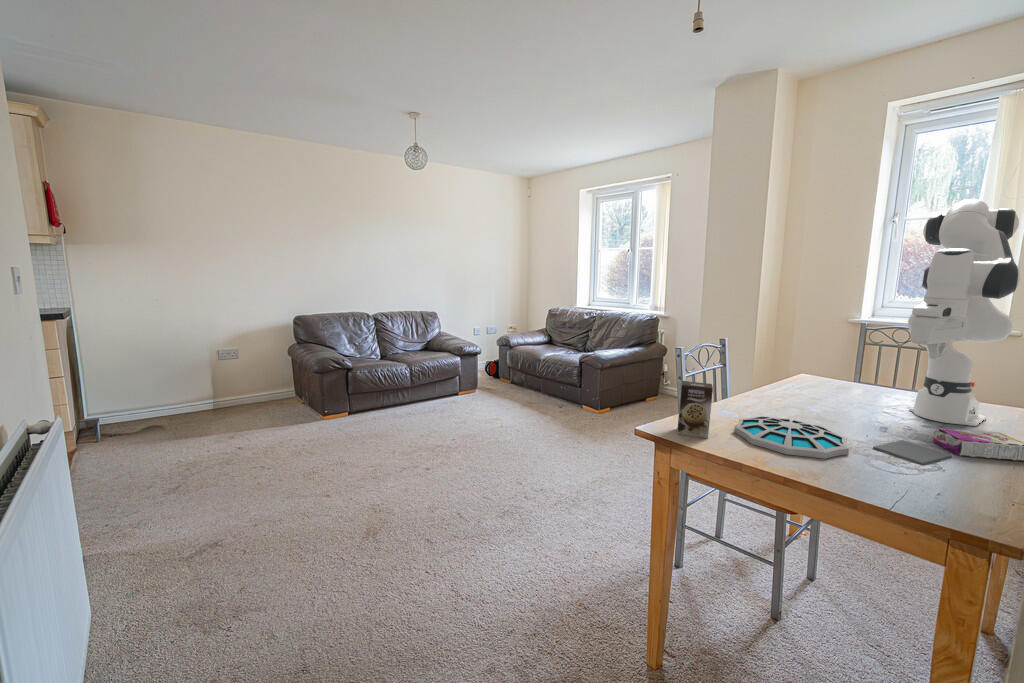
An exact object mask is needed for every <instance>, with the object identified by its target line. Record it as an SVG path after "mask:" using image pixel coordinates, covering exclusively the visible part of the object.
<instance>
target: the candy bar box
mask: <svg viewBox="0 0 1024 683" xmlns="http://www.w3.org/2000/svg"><path fill="white" fill-rule="evenodd" d="M934 429H935V430H934V434H933V440H932V442H933V443H934V444H936V445H938V446H940V447H941V448H944V449H945V450H948V451H950V452H951V453H953V454H955V455H957V456H958V457H959V456H960V457H970V458H979V459H980V458H982V459H983V458H984V459H994V460H995V459H996V460H1005V461H1019V462H1024V442H1023V441H1021V440H1019V439H1016V438H1013V437H1011V436H1008V435H1006V434H1004V433H1001V432H999V431H983V430H971V429H969V430H968V429H955V428H942V427H935V428H934Z"/></svg>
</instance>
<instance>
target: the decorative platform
mask: <svg viewBox="0 0 1024 683" xmlns="http://www.w3.org/2000/svg"><path fill="white" fill-rule="evenodd" d="M734 433H735V434H736V435H737V436H740V437H742V438H743V439H744V440H746V441H747V442H748V443H750V444H751V445H753V446H758V447H761V448H765V449H768V450H771V451H775V452H778V453H780V454H783V455H786V456H787V455H788V456H789V455H790V456H796V457H797V456H798V457H799V456H800V457H808V458H817V459H825V460H826V459H830V458H833V457H839V456H848V455H849V453H850V448H849V446H848V444H847V440H848V438H846V437H845V436H842V435H840V434H838V433H835V432H834V431H832V430H829V429H827V428H826V427H824V426H821V425H818V424H813V423H808V422H803V421H799V420H796V419H793V418H783V417H781V418H780V417H773V416H766V415H765V416H760V415H759V416H756V417H755V416H754V417H750V418H747V417H746V418H739V419H738V424H737V425H736V426H735V427H734Z"/></svg>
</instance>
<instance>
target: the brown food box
mask: <svg viewBox="0 0 1024 683" xmlns="http://www.w3.org/2000/svg"><path fill="white" fill-rule="evenodd" d="M713 392H714V387H713V384H712V383H707V382H699V381H698V382H697V381H688V380H687V381H686V380H681V386H680V396H679V397H680V398H679V407H678V408H679V409H678V418H677V430H676V433H677V435H680V436H681V435H682V436H688V437H695V438H700V439H701V438H702V439H709V432H710V431H709V430H710V422H711V411H712V400H713Z"/></svg>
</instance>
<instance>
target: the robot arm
mask: <svg viewBox="0 0 1024 683" xmlns="http://www.w3.org/2000/svg"><path fill="white" fill-rule="evenodd" d="M1019 225H1020V218H1019V217H1018V214H1017V213H1016V211H1015V210H1014V209H1012V208H1003V207H1001V208H1000V207H999V208H998V209H996V208H989V206H988V205H987V203H986V202H985V201H983V200H980V199H976V198H970V199H963V200H961V201H959V202H956V203H954V205H952V206H951V208H949V209H948V211H947V212H946V213H943V212H942V213H939V214H935V215H932V216H931V217H930V218H928V219H927V221H926V222H925V225H924V227H923V230H922V231H923V232H922V233H923V234H922V235H923V238H924V239H925V243H927V244H928V245H932V246H941V245H942V247H944V248H941V249H939V250H936V251H935V252H934V254H933V256H932V258H931V261H930V265H929V266H928V267H926V268H925V269H924V273H923V277H922V283H921V284H922V285H921V286H922V288H924V289H925V290H926V291H925V293H924V296H923V300H922V301H921V302H920V303H919V304H917V305H916V306H914V307H913V308H912V310H911V315H910V316H909V318H908V320H907V327H908V330H909V331H910V340H911V341H910V342H911V343H913V344H917V345H924V346H925V349H926V350H927V354H928V355H927V356H928V363H927V373H926V376H924V379H923V388H921V389H918V391H917V394H916V397H915V401H914V406H911V407H909V409H908V410H909V411H911V412H912V413H914V415H915V416H918V417H921V418H924V419H927V420H931V421H935V422H940V423H945V424H953V425H963V426H964V425H965V426H971V427H976V426H979V425H980V424H981V423H983V422H984V421H986V420H985V419H987V416H985V415H982V414H979V412H978V411H979V405H980V404H979V403H980V402H979V401H978V400H977V399H976V398H975V396H974V395H973V394H972V391H973V390H972V388H975V386H976V382H975V381H971V378H972V372H973V367H974V361H973V358H972V357H971V356H970V355H968V354H967V353H965V352H963V351H962V350H959V349H956V348H954V347H953V342H971V343H972V342H973V343H994V342H995V343H996V342H1002V341H1003V340H1005V339H1006V338H1008V337H1009V335H1010V334H1011V332H1012V331H1013V322H1012V319H1011V318H1010V316H1008V314H1007V313H1005V312H1003V311H1001V310H1000V309H999V308H998V307H997V306H996V305H994V303H993V302H992V301H991V299H996V300H999V299H1002V298H1003V299H1004V298H1005V297H1008V296H1009V295H1011V294H1013V293H1015V291H1016V290H1017V288H1018V286H1019V285H1020V284H1019V283H1020V280H1021V275H1020V271H1019V268H1018V265H1017V264H1016V262H1015V261H1014V257H1013V253H1012V250H1011V246H1010V242H1009V239H1011V238H1012V237H1013V236H1014V234H1015V233H1016V232H1017V230H1018V229H1019ZM983 420H984V421H983ZM982 421H983V422H982ZM979 423H980V424H979Z"/></svg>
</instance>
